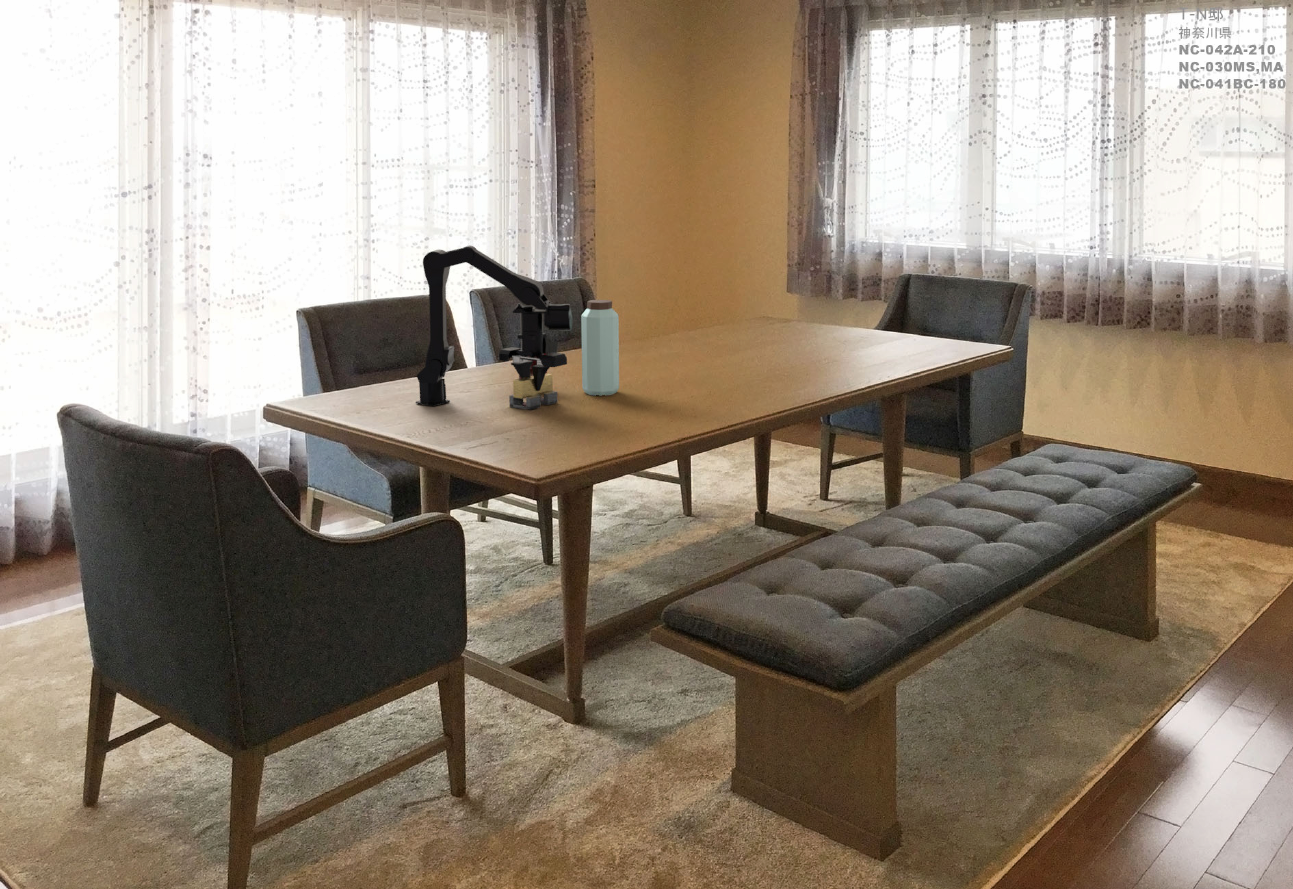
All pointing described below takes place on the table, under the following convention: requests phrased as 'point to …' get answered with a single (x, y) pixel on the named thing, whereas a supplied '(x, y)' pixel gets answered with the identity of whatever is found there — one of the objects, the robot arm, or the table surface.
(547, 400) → the far chain end
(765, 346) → the table surface
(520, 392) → the tan rectangular block
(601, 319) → the water bottle
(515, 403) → the bracket
